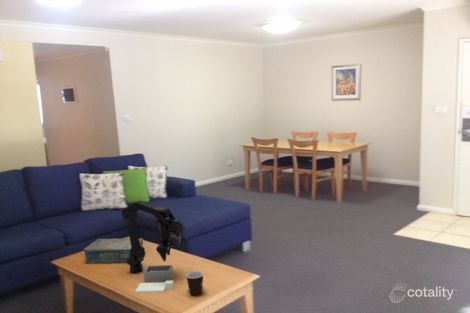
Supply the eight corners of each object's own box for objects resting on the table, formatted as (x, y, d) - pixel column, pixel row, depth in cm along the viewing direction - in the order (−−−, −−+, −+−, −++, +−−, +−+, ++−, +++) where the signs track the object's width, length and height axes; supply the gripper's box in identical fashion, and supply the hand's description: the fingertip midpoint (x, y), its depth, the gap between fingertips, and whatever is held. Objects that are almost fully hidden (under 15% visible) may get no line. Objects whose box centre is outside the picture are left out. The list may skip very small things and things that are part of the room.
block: (149, 280, 236) (148, 273, 236) (151, 277, 240) (150, 270, 240) (156, 279, 236) (156, 273, 236) (158, 276, 240) (157, 270, 239)
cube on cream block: (135, 295, 221) (134, 286, 221) (140, 286, 231) (139, 279, 230) (171, 294, 220) (170, 285, 219) (175, 286, 229) (174, 278, 229)
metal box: (98, 252, 289) (97, 238, 288) (144, 251, 285) (143, 237, 284) (84, 264, 268) (82, 249, 267) (134, 264, 264) (132, 248, 263)
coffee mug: (197, 298, 213) (196, 279, 212) (184, 295, 217) (182, 276, 216) (211, 289, 223) (209, 270, 221) (197, 286, 227) (196, 268, 226)
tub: (144, 283, 234) (143, 272, 233) (148, 276, 243) (147, 265, 242) (170, 282, 233) (169, 271, 232) (173, 275, 242) (172, 265, 241)
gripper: (175, 236, 225) (177, 264, 227) (182, 225, 243) (184, 251, 245) (155, 236, 225) (157, 264, 228) (163, 225, 244) (165, 251, 246)
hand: (166, 258), depth 237 cm, fingers open, 9 cm apart
